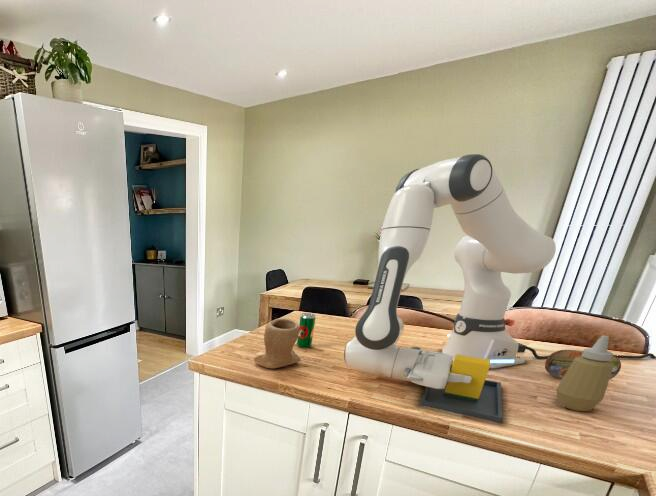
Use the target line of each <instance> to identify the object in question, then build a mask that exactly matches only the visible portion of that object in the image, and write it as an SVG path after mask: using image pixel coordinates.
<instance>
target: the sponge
mask: <svg viewBox="0 0 656 496" xmlns="http://www.w3.org/2000/svg"><path fill="white" fill-rule="evenodd" d="M452 363H453V365H452V368H451V371H450V372H451V373H455V374H461V375H463V374H467V375H471V376H472V379H471V382H470V383H463V382H447V385H446V388H445V392H444V395H446V396H451V397H456V398H461V399H466V400H471V401H476V402H478V399H479V396H480V393H481V390H482V387H483V385H484V382H485V380H487V375H488V373H489V370H490V368H489V367H490V360H488V359H482V358H475V357H469V356H462V355H455V358H454V361H452Z"/></svg>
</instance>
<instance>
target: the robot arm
mask: <svg viewBox="0 0 656 496" xmlns="http://www.w3.org/2000/svg"><path fill="white" fill-rule="evenodd" d="M448 205H450V208H451V209H452V212H453V214H454V216H455V218H456V220H457V222H458V224H459V226H460V228H461V230H462V232H463V233H464V234H465V235H464V236H463V237H462V238H461V239H460V240H459V241H458V242H457V244H456V245H455V248H454V253H453V254H454V259H455V261H456V262H457V264H458V265H459V266H460V268H461V271H462V274H463V279H464V281H463V282H464V289H463V290H464V291H463V295H462V301H461V304H460V307H459V311H458V313H456V315H455V319H454V322H453V328H452V330H451V332H450V334H447V341H446V343H445V345H444V346H443V347H442V350H441V352H439V351H434V350H431V349H423V347H422V346H411V347H402V346H398V345H397V344H398V342H399V339H400V338H401V337H402V335H403V333H404V330H405V329H404V328H405V326H404V321H403V319H402V318H401V316H399V315H398V314H397V310H398V305H399V300H400V297H401V292H402V288H403V285H404V281H405V278H406V276H407V274H408V272H409V270H411V268H412V267H413V265H414V264H415V263H416V262H417V261H419V260H420V258H421V256H422V254H423V252H424V250H425V248H426V245H427V243H428V241H429V237H430V232H431V229H432V224H433V218H434V210H435V208H441V207H444V206H448ZM379 235H380V236H379V241H378V242H379V243H378V255H377V257H378V259H377V261H378V262H377V272H376V275H375V280H374V284H373V287H372V292H371V296H370V300H369V303H368V306H367V308H366V310H365V312H364V313H363V314H362V315H361V317H360V318H359V320H358V321H357V323H356V325H355V330H354V334H355V335H354V336H353V338H351V340H349V341H348V342H346V344H345V347H344V353H343V359H344V363H345V365H346V366H347V368H349V369H352V370H354V371H357V372H360V373H364V374H369V375H373V376H374V375H375V376H376V375H378V376H379V375H381V376H385V377H388V378H390V379H395V380H400V381H405V382H409V383H413V384H415V385H419V386H423V387H425V388H426V387H430V388H435V389H444V388H445V386H446V383H447V382H463V383H470V382H471V379H472V376H471V375H467V374H463V375H461V374H455V373H451V372H450V371H451V368H452V365H453V362H454V358H455V355H462V356H469V357H475V358H482V359H488V360H490V367H489V369H498V368H499V369H500V368H505V367H510V366H516V365H521V364H525V362H526V360H525V359H524V358H523V357H521V356H519V357H516V355H517V354H519V353H520V354H523V353H524V354H525V352H526V350H527V351H530V352H531V353H532V355H534V356H533V357H534V358H536V359H538V360H546V359H547V358H548V357H549V356H550V355H546V356H542V355H539V354H538V353H537V351H536V350H535V349H534V348H532V347H530V346H527V344H526V345H525V344H523V343H520V342H518V341H517V340H515V339H514V337H512V336H511V335H510V334H509V333H508V332H507V330H506V326H508V327H513V326H514V325H515V323H516V320H515V319H510V318H506V319H505V314H506V312H507V309H508V306H509V302H510V300H511V297H512V291H511V290H510V288H509V287H508V286H506V284H505V283H504V282H503V278H502V273H507V274H530V273H531V274H532V273H538V272H539V271H541V270H543V269H544V268H546V267H547V266H548V265H550V263H551V262H552V260H553V259H554V257H555V255H556V251H557V247H556V242H555V240H554V239H553V238H552V237H550V236H548V235H545V234H543V233H541V232H540V231H538V230H537V229H535V228H533V227H532V226H531V225H530V224H528V223H527V222H526V221H525V220H524V219H523V218H522V217H521V216H520V215H519V214H518V213H517V212H516V211H515V209H514V208H513V206H512V203H511V202H510V200H509V198H508V194H507V193H506V190H505V188H504V186H503V184H502V181H501V179H500V177H499V176H498V174H497V172H496V170H494V168H493V164H492V163H491V161H490V160H489V159H488V158H487V156H485V155H484V154H477V153H472V154H471V153H470V154H465V155H462V156H460V157H459V156H458V157H453V158H447V159H444V160H439V161H437V162H435V163H432V164H429V165H426V166H424V167H421V168H416V169H413V170H412V171H409V172H407V173H406V174H404V175H403V176H402V177H401V178H400V179H399V181H398V183H397V186H396V187H395V191H394V194H393V196H392V197H391V200H390V202H389V205H388V207H387V209H386V212H385V215H384V219H383V223H382V227H381V230H380V234H379ZM613 355H614V356H616V357H617V358H618V359H629V360H630V359H631V360H632V359H633V360H634V359H636V360H639V359H644V358H648V357H650V358H651V359H656V355H655V354H653V353H652V352H651V353H645V354H642V355H624V354H622V355H621V354H613ZM617 355H618V356H617ZM517 356H518V355H517ZM520 357H521V358H520ZM517 358H519V359H517Z"/></svg>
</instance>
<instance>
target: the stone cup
mask: <svg viewBox="0 0 656 496" xmlns="http://www.w3.org/2000/svg"><path fill="white" fill-rule="evenodd" d="M263 334H264V335H263V343H264V348H265V353H264V354H263V353H262V354H260V355H257V356H255V357H253V362H254V363H256V364H257V365H258V366H260V367H264V368H266V369H279V368H282V367H287V366H289V365H293V364H296V363H299V362H301V358H300V357H299V355H298V354H297V353H296V352H295V350H293V348H294V346H295V344H296V343H297V338H298V335H299V324H298V322H296V321H295V320H292V319H290V318H284V317H283V318H282V317H279V318H275V319H273V320H271V321H269V322H268V323H267V324H266V326H265V329H264V333H263Z"/></svg>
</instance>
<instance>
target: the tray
mask: <svg viewBox="0 0 656 496" xmlns="http://www.w3.org/2000/svg"><path fill="white" fill-rule="evenodd" d="M446 385H447V383H446ZM445 388H446V386H445ZM445 388H444V389H435V388H430V387H426V386H425V388H424V391H423V393H422V397H421V399H420V403H419V406H422V407H426V408H430V409H435V410H439V411H445V412H449V413H452V414H453V413H454V414H457V415H458V414H459V415H463V416H467V417H472V418H476V419H481V420H486V421H489V422H493V423H494V422H495V423H499V424H501V423H502V421H503V400H502V399H503V398H502V382H500V381H496V380H488V379H485V382H484V385H483V387H482V390H481V393H480V396H479V399H478V402H476V401H471V400H466V399H461V398H456V397H451V396H446V395H444V392H445Z"/></svg>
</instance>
